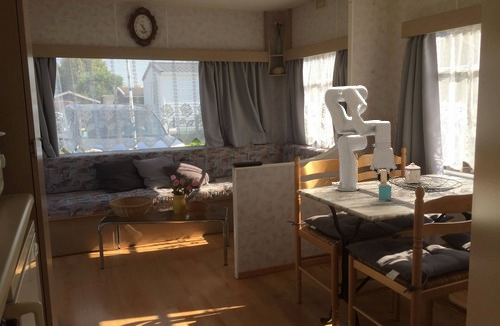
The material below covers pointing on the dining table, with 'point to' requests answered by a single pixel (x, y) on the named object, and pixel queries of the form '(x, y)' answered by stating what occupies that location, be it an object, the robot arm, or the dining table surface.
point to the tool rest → (401, 194)
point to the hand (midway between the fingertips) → (383, 180)
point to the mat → (387, 204)
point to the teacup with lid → (412, 174)
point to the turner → (383, 177)
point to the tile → (384, 192)
